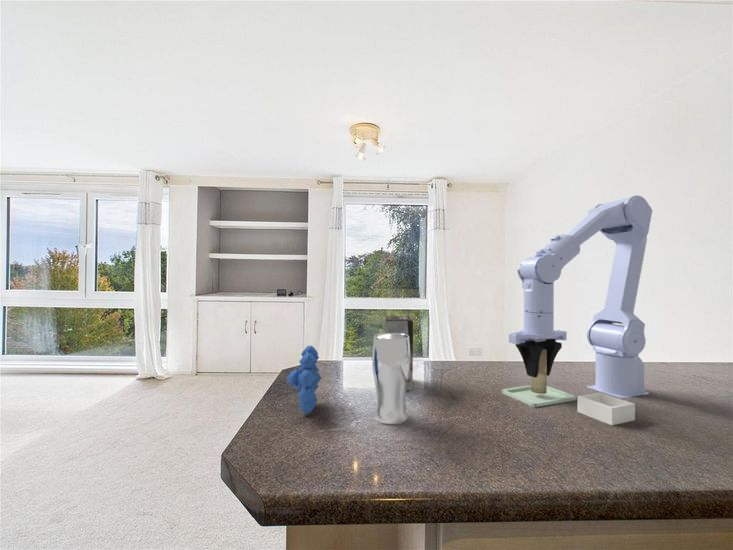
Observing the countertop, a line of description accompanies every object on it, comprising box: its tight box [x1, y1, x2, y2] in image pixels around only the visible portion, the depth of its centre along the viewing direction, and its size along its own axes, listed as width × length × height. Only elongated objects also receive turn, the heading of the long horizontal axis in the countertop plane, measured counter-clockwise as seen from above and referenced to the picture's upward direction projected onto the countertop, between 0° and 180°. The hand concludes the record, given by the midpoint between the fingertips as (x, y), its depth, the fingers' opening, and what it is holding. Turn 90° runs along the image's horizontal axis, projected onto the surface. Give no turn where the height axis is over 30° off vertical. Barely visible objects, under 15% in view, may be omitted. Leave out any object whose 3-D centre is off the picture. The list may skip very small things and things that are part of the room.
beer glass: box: [371, 332, 410, 426], centre depth 61 cm, size 7×7×15 cm
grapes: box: [286, 345, 322, 414], centre depth 64 cm, size 12×7×12 cm, turn 5°
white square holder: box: [576, 392, 636, 426], centre depth 61 cm, size 6×6×4 cm
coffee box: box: [384, 315, 414, 391], centre depth 80 cm, size 9×6×16 cm
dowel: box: [530, 349, 548, 394], centre depth 71 cm, size 3×3×9 cm
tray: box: [500, 384, 578, 408], centre depth 71 cm, size 12×9×1 cm
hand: (538, 375), depth 71 cm, fingers closed on dowel, 3 cm apart
